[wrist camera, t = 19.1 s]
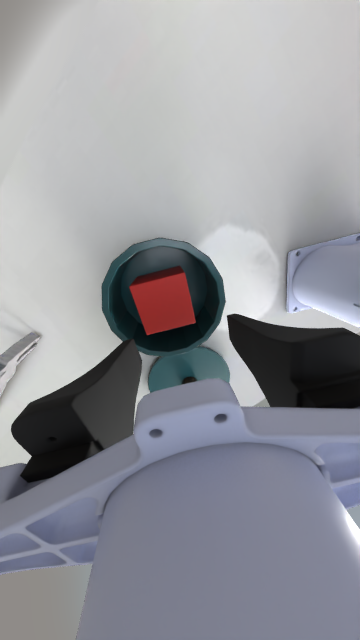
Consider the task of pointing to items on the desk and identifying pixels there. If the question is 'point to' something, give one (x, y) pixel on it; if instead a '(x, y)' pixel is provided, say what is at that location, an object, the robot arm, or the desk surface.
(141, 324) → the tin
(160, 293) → the red block
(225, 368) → the lid
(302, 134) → the desk surface
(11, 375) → the caliper
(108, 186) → the desk surface
